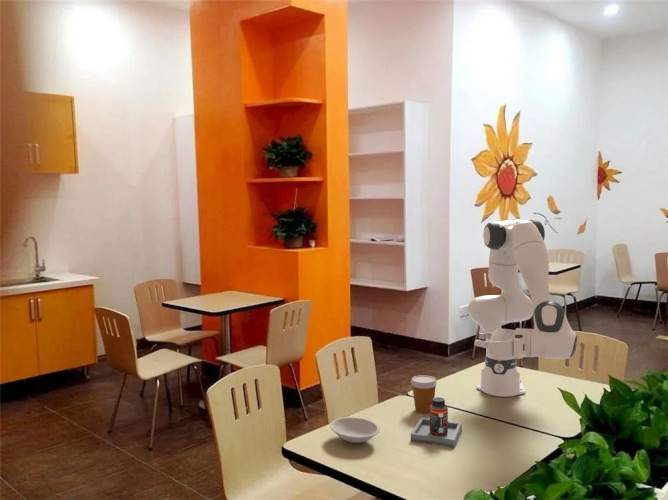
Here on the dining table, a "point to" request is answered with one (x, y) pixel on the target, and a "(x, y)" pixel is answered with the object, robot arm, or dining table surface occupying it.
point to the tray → (425, 436)
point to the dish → (354, 429)
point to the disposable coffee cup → (423, 392)
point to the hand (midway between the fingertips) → (476, 339)
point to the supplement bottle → (438, 416)
